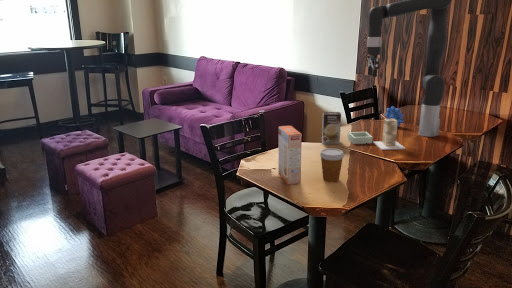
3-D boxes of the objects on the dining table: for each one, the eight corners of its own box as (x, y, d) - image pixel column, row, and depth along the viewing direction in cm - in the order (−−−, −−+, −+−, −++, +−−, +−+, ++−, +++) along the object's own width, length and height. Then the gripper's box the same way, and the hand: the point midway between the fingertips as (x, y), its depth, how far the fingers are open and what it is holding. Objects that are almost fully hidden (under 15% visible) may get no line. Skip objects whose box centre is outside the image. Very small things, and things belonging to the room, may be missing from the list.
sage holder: (366, 137, 215) (366, 131, 214) (372, 143, 205) (372, 136, 204) (348, 138, 214) (348, 132, 213) (353, 143, 205) (353, 137, 204)
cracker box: (301, 183, 157) (302, 133, 150) (287, 185, 156) (287, 134, 149) (291, 171, 170) (291, 124, 164) (278, 172, 169) (277, 125, 162)
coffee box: (322, 144, 206) (323, 114, 201) (321, 140, 212) (322, 111, 207) (340, 144, 205) (341, 114, 200) (338, 140, 211) (339, 111, 206)
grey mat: (395, 141, 206) (395, 140, 206) (405, 149, 195) (405, 147, 195) (373, 142, 206) (373, 141, 206) (381, 149, 195) (381, 148, 194)
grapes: (381, 125, 238) (382, 106, 234) (386, 123, 242) (387, 104, 239) (399, 128, 230) (401, 109, 227) (404, 126, 235) (406, 106, 231)
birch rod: (391, 142, 203) (393, 118, 199) (395, 145, 198) (397, 120, 194) (382, 143, 203) (384, 118, 199) (385, 146, 198) (387, 121, 194)
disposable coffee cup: (316, 175, 164) (317, 148, 161) (339, 174, 165) (340, 147, 162) (322, 184, 155) (323, 156, 152) (345, 183, 156) (347, 155, 152)
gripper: (385, 46, 205) (383, 77, 210) (376, 44, 219) (374, 73, 223) (371, 46, 205) (369, 77, 210) (363, 45, 218) (361, 74, 223)
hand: (372, 75), depth 217 cm, fingers open, 8 cm apart
